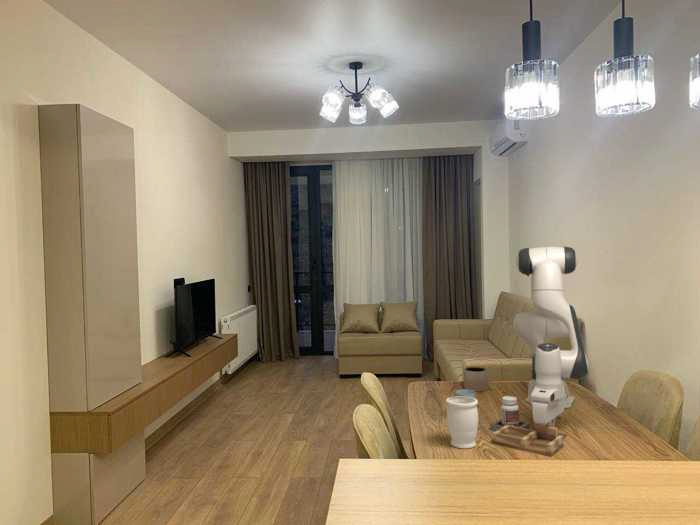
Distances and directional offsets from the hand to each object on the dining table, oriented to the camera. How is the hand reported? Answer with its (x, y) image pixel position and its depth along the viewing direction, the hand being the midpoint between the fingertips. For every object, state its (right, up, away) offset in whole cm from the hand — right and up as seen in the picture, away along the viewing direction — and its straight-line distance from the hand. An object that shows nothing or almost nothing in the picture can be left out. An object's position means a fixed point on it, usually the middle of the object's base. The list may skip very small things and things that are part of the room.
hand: (550, 431), depth 180 cm
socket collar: (-11, -2, +9) cm, 14 cm away
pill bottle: (-11, -2, +9) cm, 14 cm away
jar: (-31, -3, -5) cm, 32 cm away
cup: (-24, -3, +23) cm, 33 cm away
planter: (-9, -2, +67) cm, 68 cm away
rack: (-10, -2, -7) cm, 13 cm away
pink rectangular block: (-2, -2, -2) cm, 4 cm away
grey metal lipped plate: (-1, -2, -1) cm, 2 cm away
